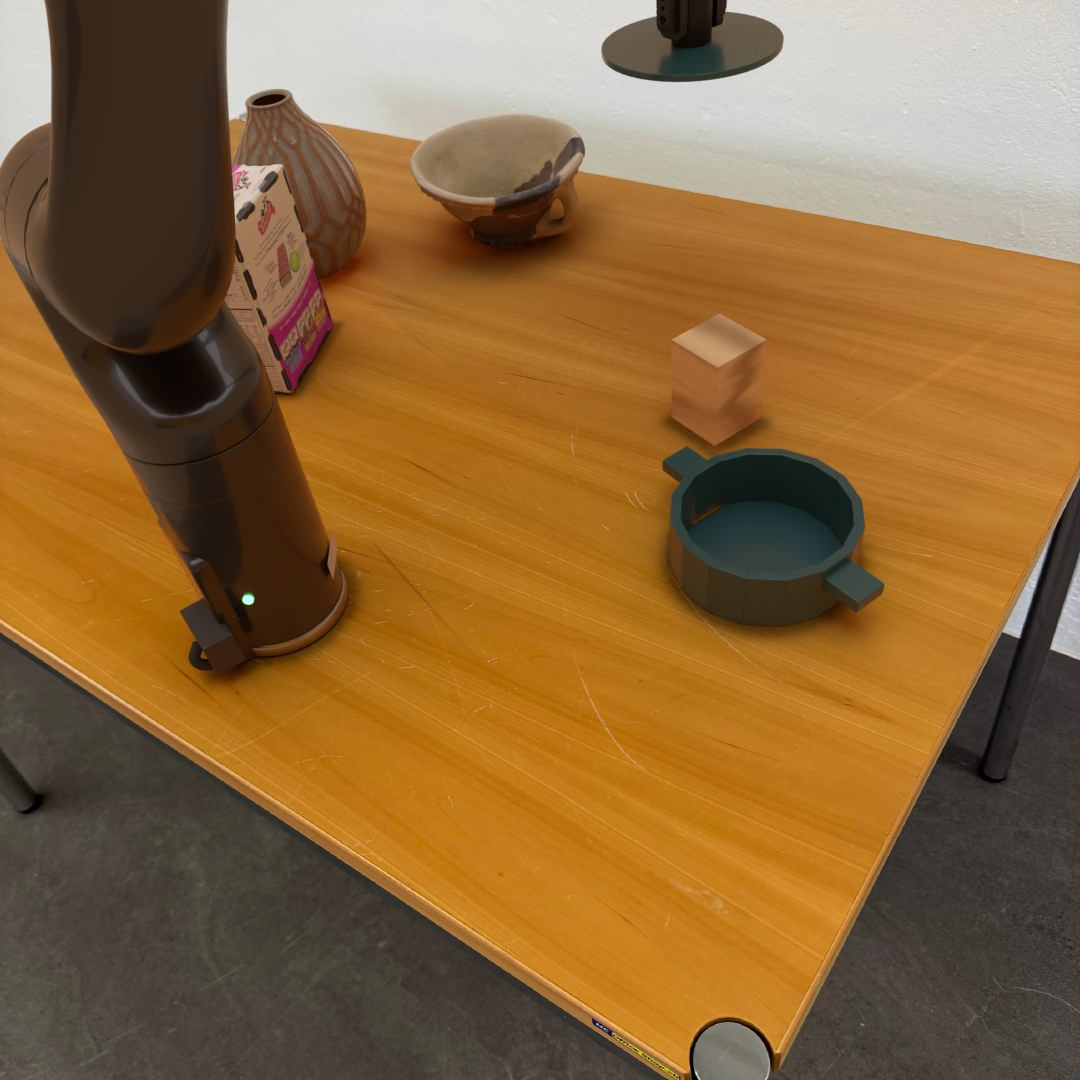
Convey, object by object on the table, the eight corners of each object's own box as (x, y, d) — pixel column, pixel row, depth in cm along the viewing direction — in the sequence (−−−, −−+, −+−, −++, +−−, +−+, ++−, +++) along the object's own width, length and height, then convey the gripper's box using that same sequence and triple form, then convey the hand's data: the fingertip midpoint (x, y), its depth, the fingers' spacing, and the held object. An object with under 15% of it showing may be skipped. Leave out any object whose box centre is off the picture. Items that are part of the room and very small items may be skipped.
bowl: (393, 260, 100) (372, 173, 94) (487, 186, 110) (474, 102, 104) (533, 294, 93) (521, 202, 86) (620, 211, 103) (616, 123, 96)
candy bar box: (288, 324, 94) (233, 162, 82) (335, 326, 93) (286, 161, 81) (242, 394, 86) (174, 226, 74) (292, 396, 85) (232, 226, 73)
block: (714, 451, 74) (717, 367, 68) (671, 422, 77) (670, 339, 71) (759, 423, 76) (767, 339, 70) (716, 396, 79) (719, 313, 73)
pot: (793, 688, 58) (801, 639, 55) (610, 534, 69) (607, 484, 66) (926, 588, 63) (941, 536, 59) (734, 457, 73) (737, 407, 70)
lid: (685, 106, 65) (687, 1, 61) (566, 62, 73) (559, -34, 69) (821, 50, 70) (832, -52, 65) (695, 14, 78) (697, -79, 74)
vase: (344, 303, 95) (295, 129, 83) (234, 292, 99) (170, 124, 87) (398, 239, 104) (360, 71, 91) (294, 231, 107) (244, 69, 95)
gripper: (651, -251, 53) (654, 71, 66) (823, -290, 59) (795, 15, 71) (570, -254, 58) (586, 47, 70) (736, -290, 63) (724, -4, 75)
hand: (691, 29), depth 70 cm, fingers closed on lid, 3 cm apart
